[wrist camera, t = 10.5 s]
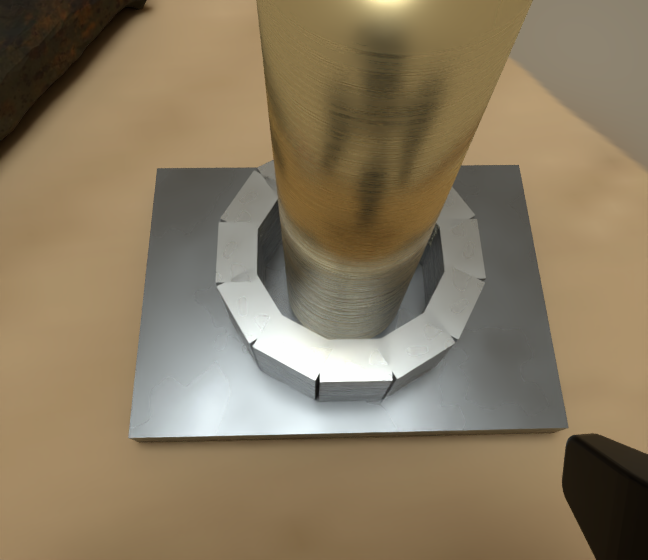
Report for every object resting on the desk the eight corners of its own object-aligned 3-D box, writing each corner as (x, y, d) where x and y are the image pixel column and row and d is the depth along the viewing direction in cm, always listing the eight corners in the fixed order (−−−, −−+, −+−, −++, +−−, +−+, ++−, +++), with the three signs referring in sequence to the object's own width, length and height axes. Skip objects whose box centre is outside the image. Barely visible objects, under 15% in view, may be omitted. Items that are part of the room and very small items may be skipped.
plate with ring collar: (553, 432, 19) (615, 412, 15) (139, 442, 19) (93, 424, 15) (508, 181, 23) (549, 114, 19) (164, 185, 22) (134, 117, 18)
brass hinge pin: (420, 320, 19) (603, -1, 7) (311, 360, 18) (313, 85, 6) (374, 224, 21) (463, -180, 9) (272, 258, 20) (212, -124, 8)
